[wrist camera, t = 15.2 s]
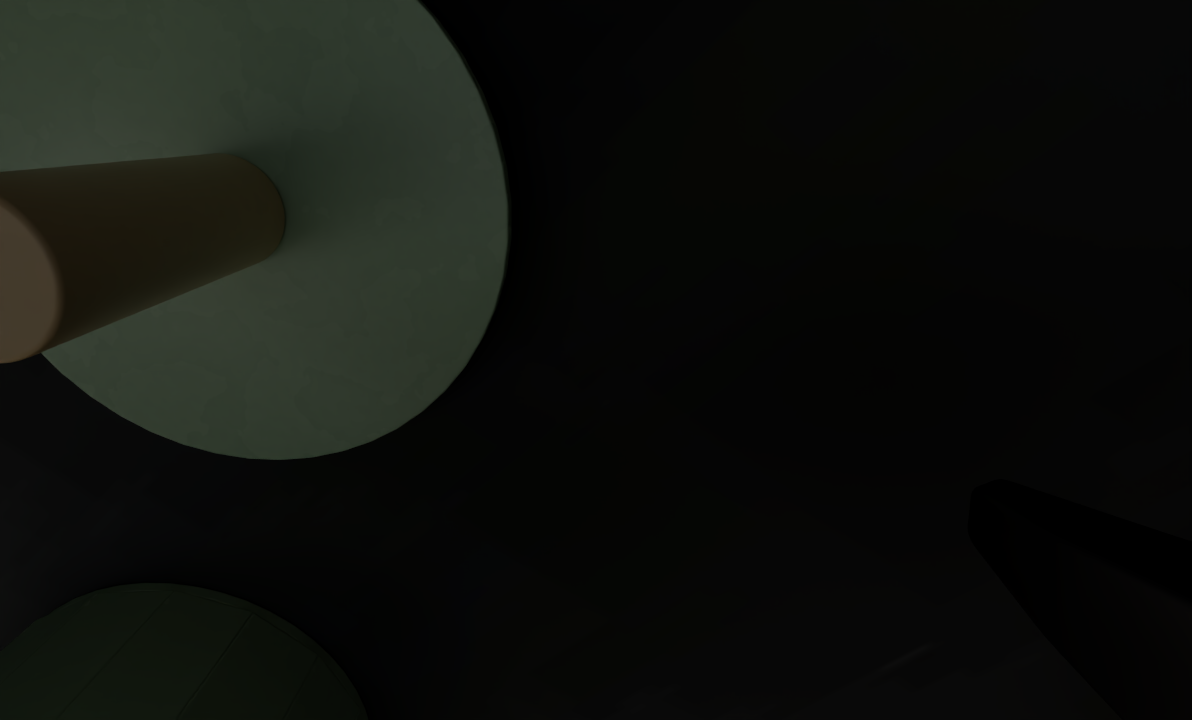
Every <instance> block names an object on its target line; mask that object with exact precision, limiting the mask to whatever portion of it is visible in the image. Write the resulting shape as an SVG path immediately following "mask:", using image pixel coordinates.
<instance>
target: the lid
mask: <svg viewBox="0 0 1192 720" xmlns="http://www.w3.org/2000/svg"><path fill="white" fill-rule="evenodd" d="M511 233H512V202H511V194H510V186H509V178H508V170H507V164H506V160H505V156H504V153H503V149H502V145H501V141H500V137H499V133H498V129H497V126H496V124H495V121H494V119H493V116H492V113H491V111H490V108H489V106H488V103H487V101H486V98H485V95H484V93H483V91H482V89H481V87H480V85H479V83H478V81H477V79H476V78H475V76H474V74H473V72H472V70H471V68H470V66H469V64H468V63H467V61H466V59H465V57H464V55H463V54H462V52H461V51H460V49H459V48H458V47H457V45H456V44H455V42H454V41H453V39H452V38H451V37H450V35H449V34H448V32H447V31H446V29H445V28H444V27H443V25H442V24H441V22H440V21H439V20H438V19H437V17H436V16H435V15H434V14H433V13H432V12H431V11H430V10H429V8H428V7H427V6H426V5H425V4H424V3H423V2H422V1H421V0H0V363H11V362H15V361H20V360H23V359H26V358H28V357H31V356H34V355H36V354H38V353H42V354H43V355H44V356H45V357H46V358H47V359H48V360H49V361H50V362H51V363H52V364H53V365H54V366H55V367H56V368H57V369H58V370H59V371H60V372H61V373H62V374H63V375H65V376H66V377H67V378H68V379H70V380H71V381H72V382H73V383H75V384H76V385H77V386H78V387H80V388H81V389H82V390H83V391H85V392H86V393H87V394H88V395H89V396H91V397H92V398H94V399H95V400H97V401H98V402H100V403H102V404H103V405H105V406H106V407H108V408H109V409H111V410H112V411H114V412H115V413H117V414H118V415H120V416H122V417H124V418H126V419H128V420H130V421H131V422H133V423H135V424H137V425H139V426H141V427H143V428H145V429H147V430H149V431H151V432H153V433H156V434H158V435H161V436H163V437H166V438H168V439H171V440H173V441H176V442H179V443H181V444H184V445H188V446H191V447H195V448H198V449H202V450H206V451H209V452H213V453H217V454H224V455H230V456H236V457H242V458H251V459H272V460H284V459H298V458H311V457H316V456H321V455H326V454H331V453H336V452H341V451H345V450H348V449H351V448H353V447H356V446H359V445H362V444H365V443H368V442H371V441H373V440H375V439H377V438H379V437H381V436H383V435H385V434H387V433H389V432H391V431H393V430H395V429H397V428H399V427H401V426H402V425H404V424H405V423H406V422H408V421H409V420H411V419H412V418H414V417H415V416H417V415H418V414H420V413H421V412H423V411H424V410H425V409H426V408H427V407H428V406H429V405H430V404H432V403H433V402H434V401H435V400H436V399H437V398H438V397H439V396H440V395H441V394H443V393H444V392H445V391H446V390H447V389H448V387H449V386H450V385H451V384H452V382H453V381H454V380H455V379H456V378H457V376H458V375H459V374H460V373H461V372H462V370H463V369H464V368H465V367H466V365H467V364H468V362H469V360H470V359H471V357H472V355H473V354H474V352H475V350H476V349H477V347H478V346H479V344H480V342H481V341H482V339H483V337H484V335H485V334H486V331H487V329H488V327H489V324H490V322H491V320H492V317H493V315H494V313H495V310H496V308H497V306H498V303H499V299H500V296H501V292H502V288H503V285H504V281H505V278H506V274H507V268H508V261H509V253H510V246H511Z"/></svg>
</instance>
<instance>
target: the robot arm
mask: <svg viewBox="0 0 1192 720" xmlns="http://www.w3.org/2000/svg"><path fill="white" fill-rule="evenodd" d="M968 533H969V536H970V539H971V541H972V543H973V544H974V546H975V547H976V549H977V550H978V551H979V553H980V554H981V555H982V556H983V558H984V559H985V560H986V562H987V563H988V564H989V565H990V567H991V568H992V569H993V571H994V572H995V573H996V574H997V576H998V577H999V578H1000V580H1001V581H1002V582H1003V583H1004V585H1005V586H1006V587H1007V589H1008V590H1009V591H1010V593H1011V594H1012V595H1013V596H1014V598H1015V599H1016V600H1017V602H1018V603H1019V604H1020V605H1021V607H1022V608H1023V609H1024V611H1025V612H1026V613H1027V614H1028V616H1029V617H1030V618H1031V620H1032V621H1033V622H1034V623H1035V625H1036V626H1037V627H1038V628H1039V629H1040V631H1041V632H1042V633H1043V634H1044V636H1045V637H1046V638H1047V639H1048V640H1049V641H1050V642H1051V644H1052V645H1053V646H1054V647H1055V648H1056V649H1057V650H1058V651H1059V652H1060V654H1061V655H1062V656H1063V657H1064V658H1065V659H1066V660H1067V661H1068V662H1069V663H1070V664H1071V665H1072V666H1073V667H1074V668H1075V670H1076V671H1077V672H1078V673H1079V674H1080V675H1081V676H1082V677H1083V678H1084V679H1085V680H1086V681H1087V682H1088V683H1089V685H1090V686H1091V687H1092V688H1093V689H1094V690H1095V691H1096V692H1097V693H1098V694H1099V695H1100V696H1101V697H1102V698H1103V700H1104V701H1105V702H1106V703H1107V704H1108V705H1109V706H1110V707H1111V708H1112V709H1113V710H1114V711H1115V712H1116V713H1117V715H1118V716H1119V717H1120V718H1121V719H1122V720H1192V542H1191V541H1188V540H1185V539H1182V538H1179V537H1176V536H1173V535H1170V534H1167V533H1164V532H1161V531H1158V530H1155V529H1152V528H1149V527H1146V526H1143V525H1140V524H1137V523H1134V522H1131V521H1128V520H1125V519H1122V518H1119V517H1116V516H1113V515H1110V514H1107V513H1104V512H1101V511H1098V510H1095V509H1092V508H1089V507H1086V506H1083V505H1080V504H1077V503H1074V502H1071V501H1068V500H1065V499H1062V498H1059V497H1056V496H1053V495H1050V494H1047V493H1044V492H1041V491H1038V490H1035V489H1032V488H1029V487H1026V486H1023V485H1020V484H1017V483H1014V482H1011V481H1008V480H1003V479H998V480H994V481H991V482H988V483H986V484H983V485H981V486H978V487H976V488H975V489H974V490H973V492H972V494H971V501H970V510H969V520H968Z"/></svg>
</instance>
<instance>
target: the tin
mask: <svg viewBox="0 0 1192 720" xmlns="http://www.w3.org/2000/svg"><path fill="white" fill-rule="evenodd" d="M0 720H368V716H367V713H366V710H365V707H364V705H363V703H362V701H361V699H360V697H359V694H358V692H357V690H356V689H355V687H354V686H353V684H352V683H351V681H350V680H349V678H348V677H347V675H346V673H345V672H344V671H343V670H342V669H341V667H340V666H339V665H338V664H337V663H336V662H335V660H334V659H333V658H332V657H331V656H330V655H329V654H328V653H327V652H326V651H325V650H324V649H323V648H322V647H321V646H320V645H318V644H317V643H316V642H315V641H314V640H313V639H312V638H310V637H309V636H308V635H306V634H305V633H304V632H302V631H301V630H299V629H298V628H297V627H295V626H294V625H293V624H291V623H289V622H288V621H286V620H284V619H282V618H281V617H279V616H277V615H276V614H274V613H272V612H270V611H268V610H266V609H264V608H262V607H259V606H257V605H255V604H253V603H251V602H248V601H246V600H243V599H240V598H237V597H234V596H231V595H228V594H225V593H222V592H218V591H214V590H210V589H205V588H201V587H196V586H189V585H181V584H173V583H137V584H127V585H118V586H114V587H110V588H105V589H101V590H96V591H94V592H91V593H88V594H86V595H83V596H80V597H77V598H75V599H73V600H71V601H69V602H67V603H66V604H64V605H62V606H60V607H58V608H56V609H55V610H54V611H53V612H51V613H50V614H49V615H47V616H45V617H43V618H40V619H38V620H36V621H35V622H34V623H33V624H31V625H30V626H29V627H28V628H27V629H26V630H25V631H23V632H22V633H21V634H20V635H19V636H18V637H17V638H15V639H14V640H13V641H12V642H11V643H10V644H9V645H7V646H6V647H5V648H4V649H3V650H2V651H1V652H0Z"/></svg>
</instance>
